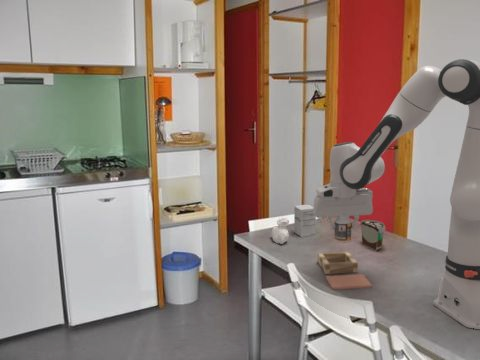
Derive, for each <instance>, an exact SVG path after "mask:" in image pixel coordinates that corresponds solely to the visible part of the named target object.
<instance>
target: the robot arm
mask: <svg viewBox="0 0 480 360" xmlns="http://www.w3.org/2000/svg"><path fill="white" fill-rule="evenodd" d="M445 97H447V98H449V99H451V100H453V101H455V102H458V103H460V104H462V105H464V106H468V117H467V122H466V127H465V130H464V137H463V140H462V144H461V149H460V153H459V158H458V163H457V166H456V171H455V175H454V179H453V184H452V188H451V192H450V197H449V202H450V206H451V210H450V211H451V212H450V221H449V230H448V244H447V245H448V246H447V255H446V257H445V260H444V268H445V272H443V273H444V274H443V275H442V276H441V277H440V281H439V286H438V287H439V288H438V293H437V298H435V299H434V300H433V306H435V307H436V308H438V309H439V310H441V311H442V312H443V313H445V314H446V315H448V316H449V317H451V318H452V319H454V320H456V321H457V322H458V323H460V324H461V325H463V326H464V327H466V328H468V329H473V328H474V330H480V61H477V60H474V59H461V58H460V59H456V60H452V61H450V62H449V63H448V64H446V65H445V66H444V67H443V68H442V69H441V68H439V67H436V66H434V65H424V66H421V67H420V68H418V70H417V71H416V72H414V74H413V75H412V76H410V78H409V79H408V80H407V81H406V82H405V84H404V85H403V86H402V88H400V91H399V92H398V93H397V95H396V96H395V98H394V99H393V101H392V103H391V104H390V106H389V107H388V109H387V111H386V112H385V113H384V115H383V117H382V119H381V120H380V121H379V123H378V125H377V126H376V127H375V129H374V130H373V131H372V132H371V134H370V135H369V136H368V137H367V139H366V140H365V142H364V143H363V144H362V145H361V147H359V146H358V145H356V143H355V142H353V141H347V142H346V141H345V142H341V143H337V144H333V146H332V147H331V149H330V155H329V171H330V178H329V183H327V184H324V185H322V186H319V187H316V194H317V195H316V196H315V197H314V201H313V206H312V207H313V213H314V215H315V216H316V219H317V218H318V219H319V218H321V219H322V218H326V219H327V221H328V223H329V227H330V230H335V228H336V227H335V222H332V220H333V218H335V217H336V218H337V217H339V216H340V215H348V216H350V217H353V218H354V219H353V220H352V221H351V229H355V228H357V222H358V221H359V219H360V216H370V215H372V213H374V207H373V198H374V197H373V193H374V192H373V190H372V189H370V188H368V187H366V186H368V185H370V184H371V183H373V182H375V181H377V180H378V179H381V178H382V176H383V175H384V173H385V171H386V164H385V161H384V158H383V157H382V155H384V153H385V152H386V150H387V149H388V148H389V147H390V146H391V144H392V143H393V142H394V141H396V140H398V139H399V138H400V137H402V136H404V135H405V134H407V133H410V132H412V131H413V130H415V129H416V128H418V127H419V126H420V125H421V124H422V123H423V122H424V121H425V120H426V119H427V118H428V117H429V116H430V114H431V113H432V112H433V110H434V109H435V107H436V106H437V104H439V103H440V101H441V100H442V99H444V98H445Z"/></svg>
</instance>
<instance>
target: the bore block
mask: <svg viewBox="0 0 480 360" xmlns="http://www.w3.org/2000/svg"><path fill="white" fill-rule="evenodd" d="M317 263H318V264H319V266H320V268H321V270H322V271H323V273H324V274H325V275H330V274H349V273H352V274H353V273H358V270H359V269H358V267H359V263H358V262H357V260H356V259H355V258H354V257H353V255H352V254H351V253H350V251H334V252H333V251H332V252H330V251H329V252H318V253H317Z"/></svg>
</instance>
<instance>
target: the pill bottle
mask: <svg viewBox="0 0 480 360" xmlns="http://www.w3.org/2000/svg"><path fill="white" fill-rule="evenodd" d="M350 217H351V216H348V215H340V216H339V217H336V218H335V219H334V223H335V227H336V228H335V229H334V241H335V242H337V243H341V244H345V243H350V242H351V241H352V228H351V222H352V220H351V219H350Z"/></svg>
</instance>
